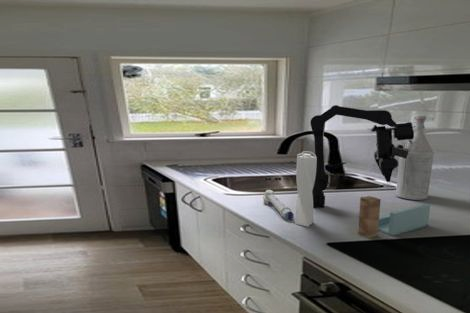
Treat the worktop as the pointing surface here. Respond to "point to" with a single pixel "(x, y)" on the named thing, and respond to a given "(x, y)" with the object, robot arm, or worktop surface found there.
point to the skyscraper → (305, 187)
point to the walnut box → (369, 216)
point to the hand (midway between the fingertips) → (386, 178)
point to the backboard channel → (405, 220)
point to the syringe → (277, 205)
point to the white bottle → (415, 165)
